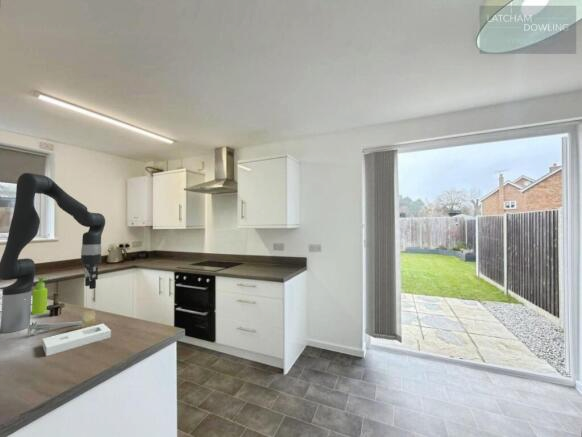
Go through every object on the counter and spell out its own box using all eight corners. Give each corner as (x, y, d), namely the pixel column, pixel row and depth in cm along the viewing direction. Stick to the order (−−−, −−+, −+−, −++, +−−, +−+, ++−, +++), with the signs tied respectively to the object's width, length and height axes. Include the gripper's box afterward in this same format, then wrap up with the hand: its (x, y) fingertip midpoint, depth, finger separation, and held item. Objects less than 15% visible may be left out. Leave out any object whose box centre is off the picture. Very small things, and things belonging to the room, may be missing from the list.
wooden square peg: (82, 329, 113) (82, 312, 114) (92, 326, 116) (93, 309, 117) (84, 331, 111) (84, 314, 111) (95, 328, 114) (95, 311, 114)
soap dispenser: (40, 314, 132) (42, 278, 133) (28, 314, 132) (30, 278, 133) (51, 310, 138) (52, 276, 139) (39, 310, 138) (41, 276, 139)
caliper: (27, 338, 104) (28, 323, 105) (27, 337, 105) (27, 323, 105) (87, 323, 121) (87, 310, 121) (86, 322, 121) (86, 310, 122)
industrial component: (64, 315, 132) (65, 293, 132) (45, 318, 127) (46, 295, 127) (64, 310, 138) (65, 290, 139) (46, 314, 133) (47, 292, 134)
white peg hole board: (42, 346, 97) (42, 338, 97) (103, 329, 112) (103, 323, 112) (46, 356, 89) (46, 347, 89) (110, 337, 105) (111, 330, 105)
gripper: (78, 253, 117) (76, 286, 116) (84, 255, 108) (83, 291, 107) (97, 252, 122) (96, 283, 122) (105, 253, 114) (104, 288, 113)
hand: (90, 287), depth 114 cm, fingers open, 8 cm apart
